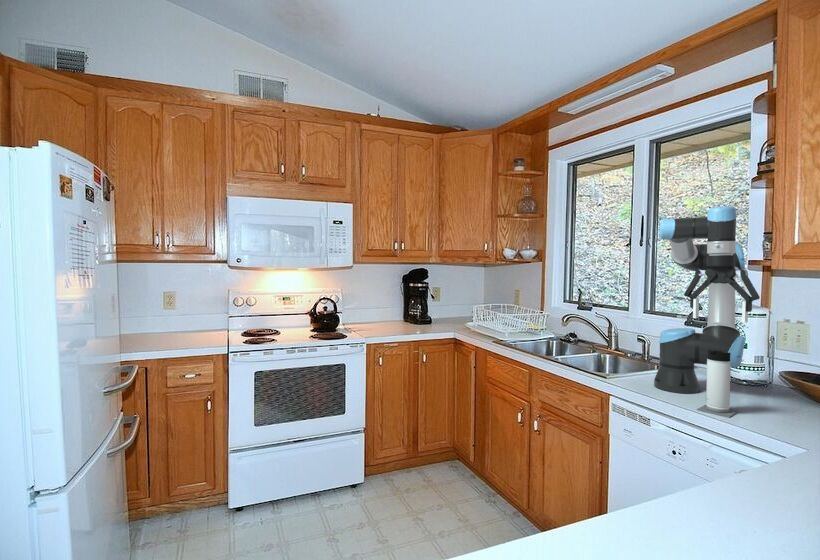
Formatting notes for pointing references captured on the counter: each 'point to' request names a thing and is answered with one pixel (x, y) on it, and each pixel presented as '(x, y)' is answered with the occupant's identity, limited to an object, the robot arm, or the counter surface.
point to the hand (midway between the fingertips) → (719, 320)
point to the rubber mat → (729, 414)
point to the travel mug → (718, 381)
